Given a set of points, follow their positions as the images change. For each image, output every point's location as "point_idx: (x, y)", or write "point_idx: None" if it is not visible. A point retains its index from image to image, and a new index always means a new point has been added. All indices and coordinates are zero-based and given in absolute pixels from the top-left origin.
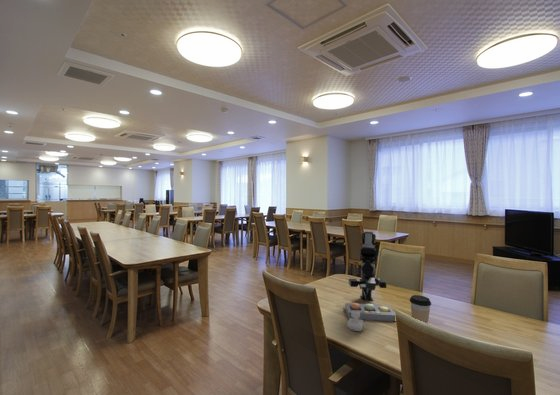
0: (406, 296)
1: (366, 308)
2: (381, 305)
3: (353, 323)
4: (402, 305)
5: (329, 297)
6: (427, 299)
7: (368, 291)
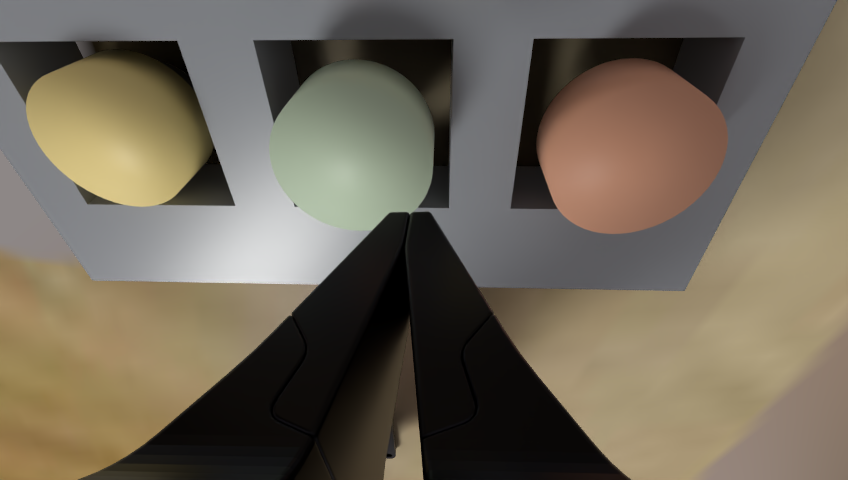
0: (51, 461)
1: (425, 108)
2: (185, 268)
3: None
4: (32, 349)
5: (679, 427)
6: None
7: (328, 403)
